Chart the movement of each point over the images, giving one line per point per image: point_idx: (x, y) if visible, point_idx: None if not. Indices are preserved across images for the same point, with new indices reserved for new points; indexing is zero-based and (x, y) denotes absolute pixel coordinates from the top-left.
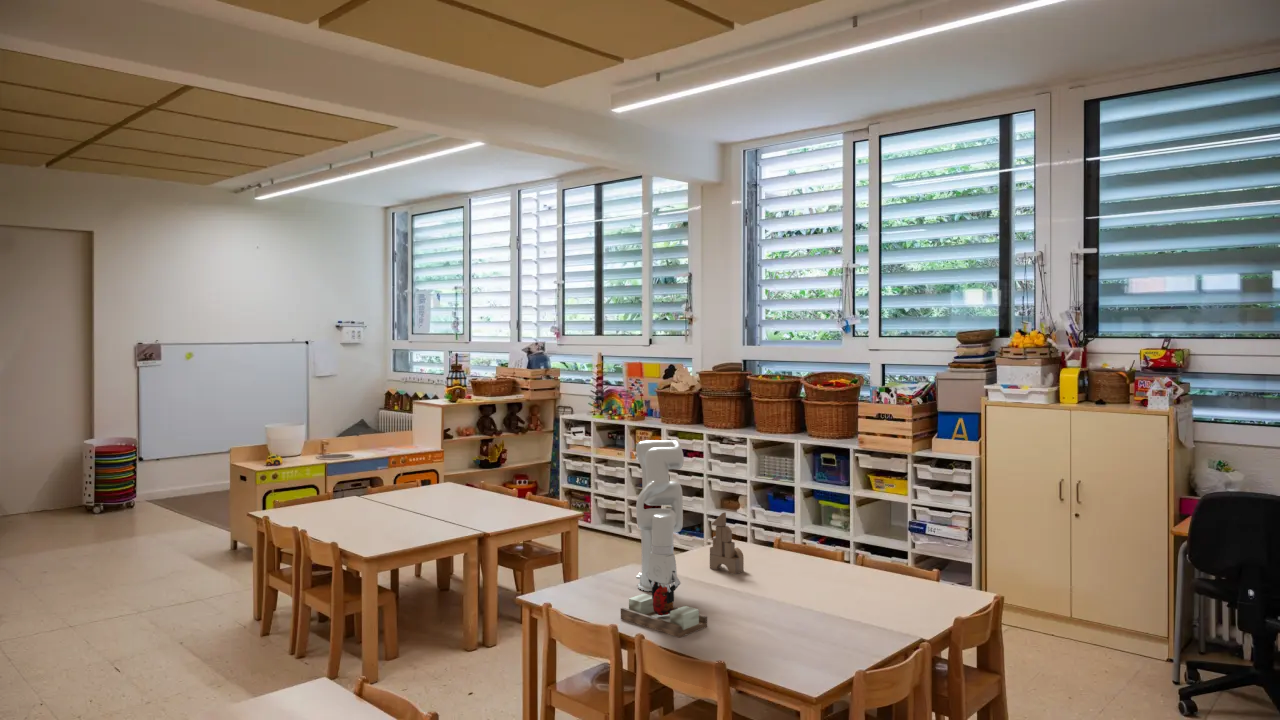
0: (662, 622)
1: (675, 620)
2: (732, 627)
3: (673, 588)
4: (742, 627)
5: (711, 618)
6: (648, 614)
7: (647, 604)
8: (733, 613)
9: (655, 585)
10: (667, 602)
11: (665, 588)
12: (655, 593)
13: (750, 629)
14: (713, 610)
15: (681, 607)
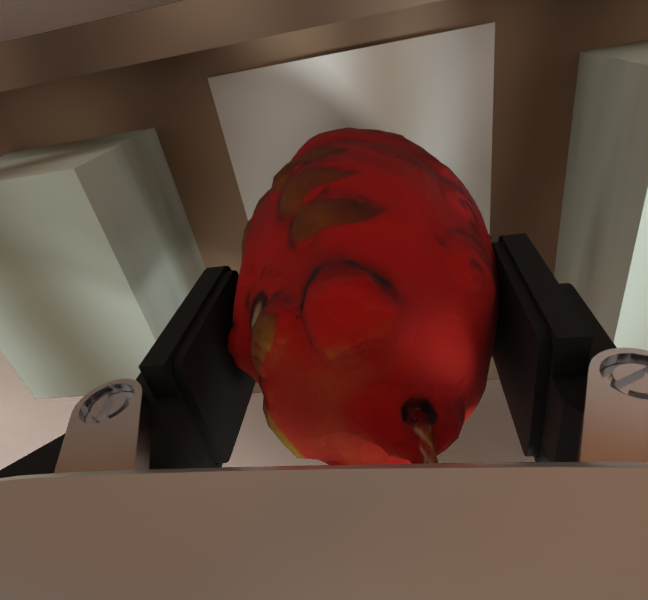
0: (107, 19)
1: (54, 154)
2: (66, 426)
3: (5, 472)
4: None
5: (237, 442)
6: (545, 160)
7: (611, 200)
8: None
9: (565, 428)
10: (211, 269)
11: (334, 452)
12: (406, 255)
13: (13, 456)
14: None
15: (145, 336)
